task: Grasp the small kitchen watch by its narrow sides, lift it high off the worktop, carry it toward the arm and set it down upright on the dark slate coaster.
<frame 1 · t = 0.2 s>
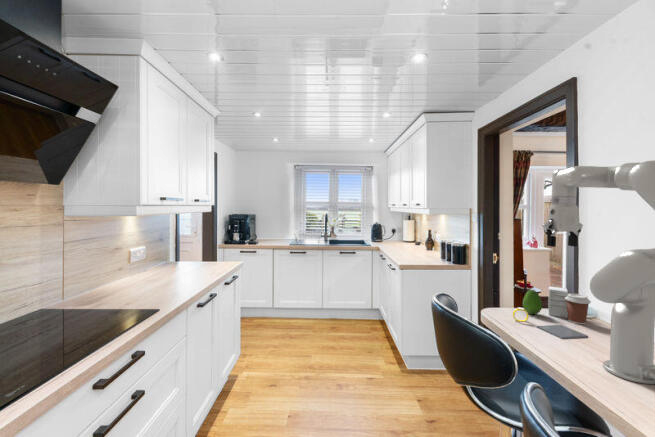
hand: (561, 246, 119), 36 cm above the breakfast bar, tool pointing down, fingers open, 9 cm apart
coffee cup: (576, 322, 141), on the breakfast bar
slate coaster: (561, 332, 128), on the breakfast bar
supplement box: (557, 314, 151), on the breakfast bar
avocado: (532, 314, 151), on the breakfast bar
watch: (520, 321, 141), on the breakfast bar
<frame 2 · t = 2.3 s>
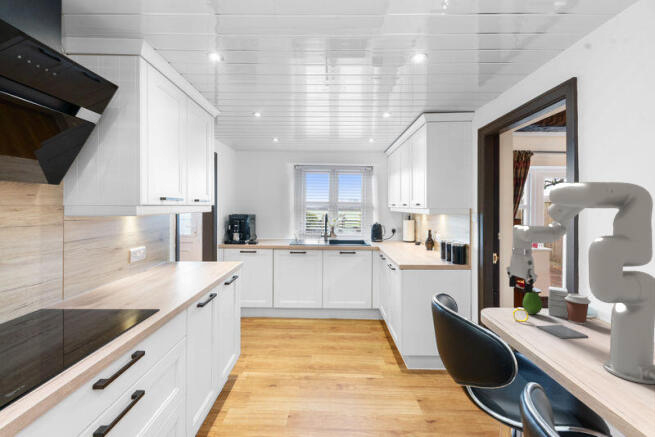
hand: (520, 289, 141), 14 cm above the breakfast bar, tool pointing down, fingers open, 9 cm apart
nothing on the breakfast bar moved.
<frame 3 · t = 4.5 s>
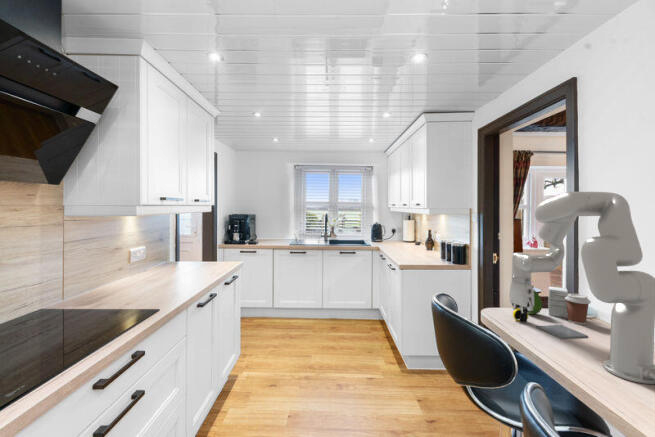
hand: (520, 319, 141), 0 cm above the breakfast bar, tool pointing down, fingers closed on watch, 2 cm apart
watch: (520, 321, 141), on the breakfast bar, touching gripper
everything else where it was.
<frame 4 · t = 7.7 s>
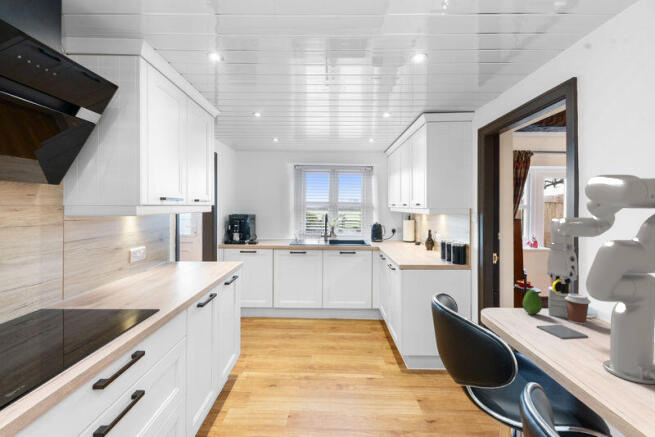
hand: (561, 292, 128), 17 cm above the breakfast bar, tool pointing down, fingers closed on watch, 2 cm apart
watch: (560, 294, 128), point 16 cm above the breakfast bar, touching gripper
everything else where it was.
when the fingers open (2 cm above the breakfast bar, at t = 11.2 s): watch drops 1 cm, resting on slate coaster.
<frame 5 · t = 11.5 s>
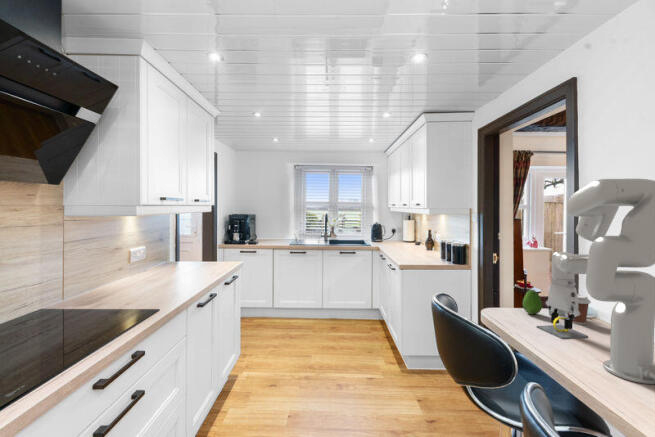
hand: (561, 325, 128), 3 cm above the breakfast bar, tool pointing down, fingers open, 5 cm apart
watch: (561, 331, 128), resting on slate coaster
everything else where it was.
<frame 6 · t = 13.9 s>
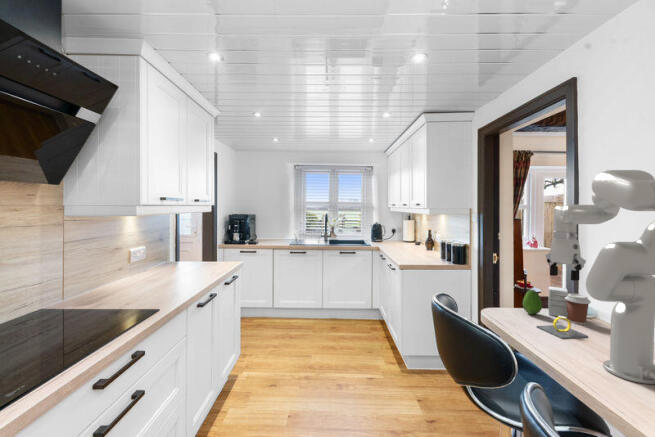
hand: (564, 277, 127), 23 cm above the breakfast bar, tool pointing down, fingers open, 9 cm apart
nothing on the breakfast bar moved.
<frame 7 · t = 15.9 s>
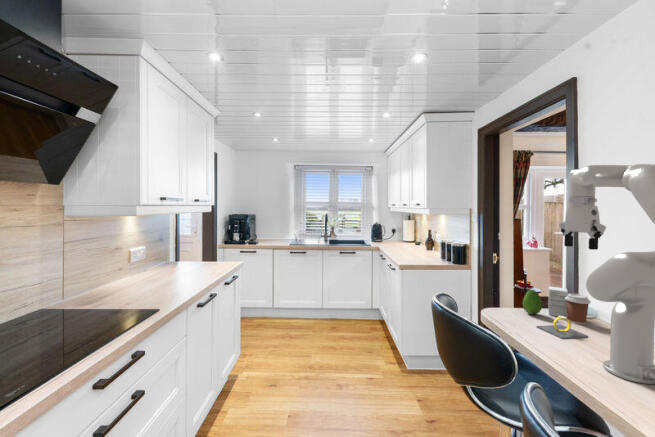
hand: (580, 247, 116), 36 cm above the breakfast bar, tool pointing down, fingers open, 9 cm apart
nothing on the breakfast bar moved.
at the end: watch inside the target area on the slate coaster (0.2 cm from its centre), point 0.4 cm above the slate coaster's base; watch tilted 1°; the gripper is holding nothing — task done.
